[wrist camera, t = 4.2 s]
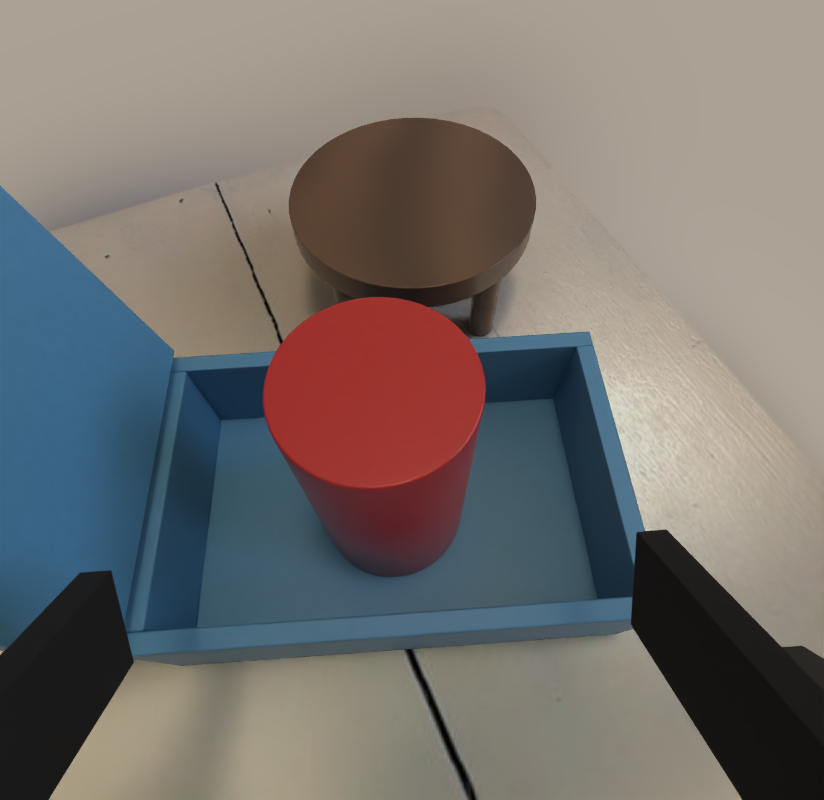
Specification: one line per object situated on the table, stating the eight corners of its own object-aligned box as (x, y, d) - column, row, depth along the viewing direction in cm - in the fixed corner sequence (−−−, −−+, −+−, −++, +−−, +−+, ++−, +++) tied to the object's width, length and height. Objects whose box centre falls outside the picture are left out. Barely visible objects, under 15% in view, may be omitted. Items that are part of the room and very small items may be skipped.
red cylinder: (453, 442, 28) (471, 289, 17) (467, 571, 25) (501, 480, 14) (327, 450, 28) (269, 302, 17) (325, 582, 25) (253, 497, 14)
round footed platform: (499, 206, 38) (514, 111, 31) (531, 361, 31) (558, 279, 25) (314, 217, 37) (293, 123, 31) (309, 375, 31) (282, 296, 25)
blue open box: (561, 392, 30) (589, 331, 25) (617, 634, 24) (669, 617, 19) (213, 415, 30) (171, 357, 25) (181, 665, 24) (115, 657, 19)
